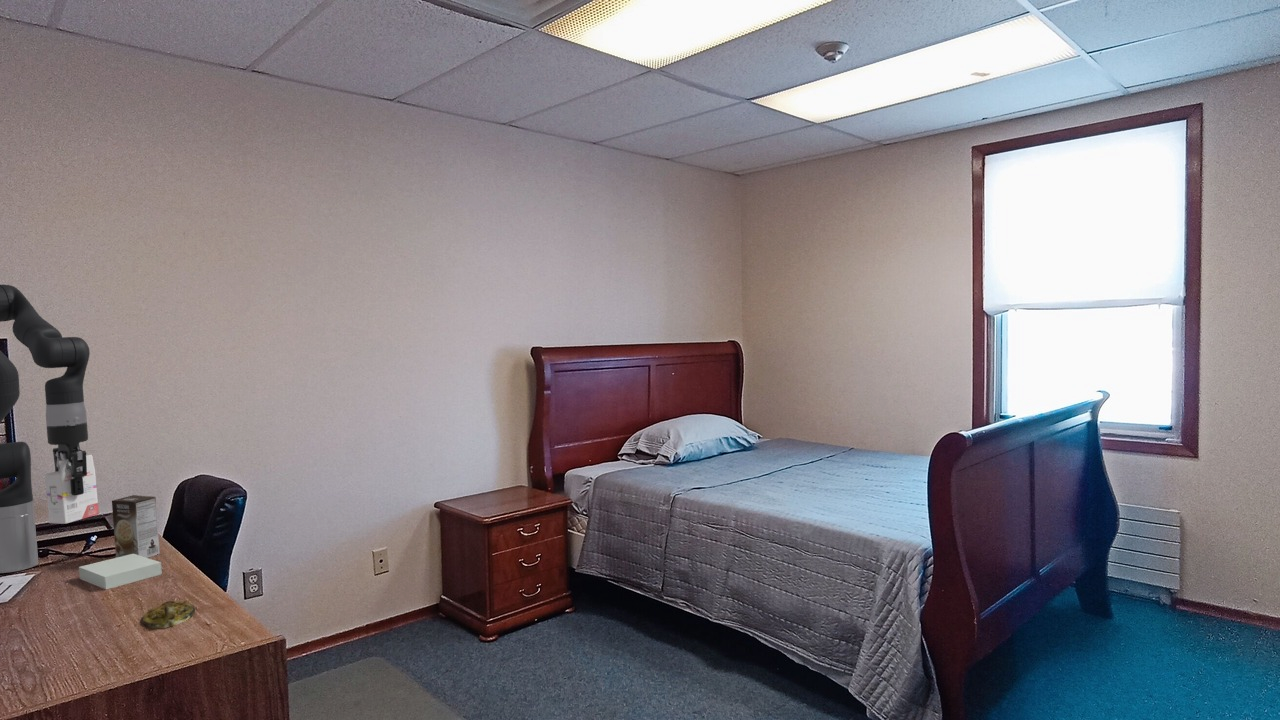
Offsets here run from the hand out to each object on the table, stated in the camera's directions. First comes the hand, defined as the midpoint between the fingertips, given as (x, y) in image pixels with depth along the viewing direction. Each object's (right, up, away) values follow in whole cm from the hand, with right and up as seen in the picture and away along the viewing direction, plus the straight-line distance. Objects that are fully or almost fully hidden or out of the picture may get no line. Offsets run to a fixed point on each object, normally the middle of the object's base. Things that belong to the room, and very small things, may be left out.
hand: (72, 492), depth 174 cm
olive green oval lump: (+35, -23, -19) cm, 46 cm away
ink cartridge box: (0, -6, 0) cm, 6 cm away
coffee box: (-3, -22, +27) cm, 36 cm away
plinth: (+4, -23, +10) cm, 25 cm away
